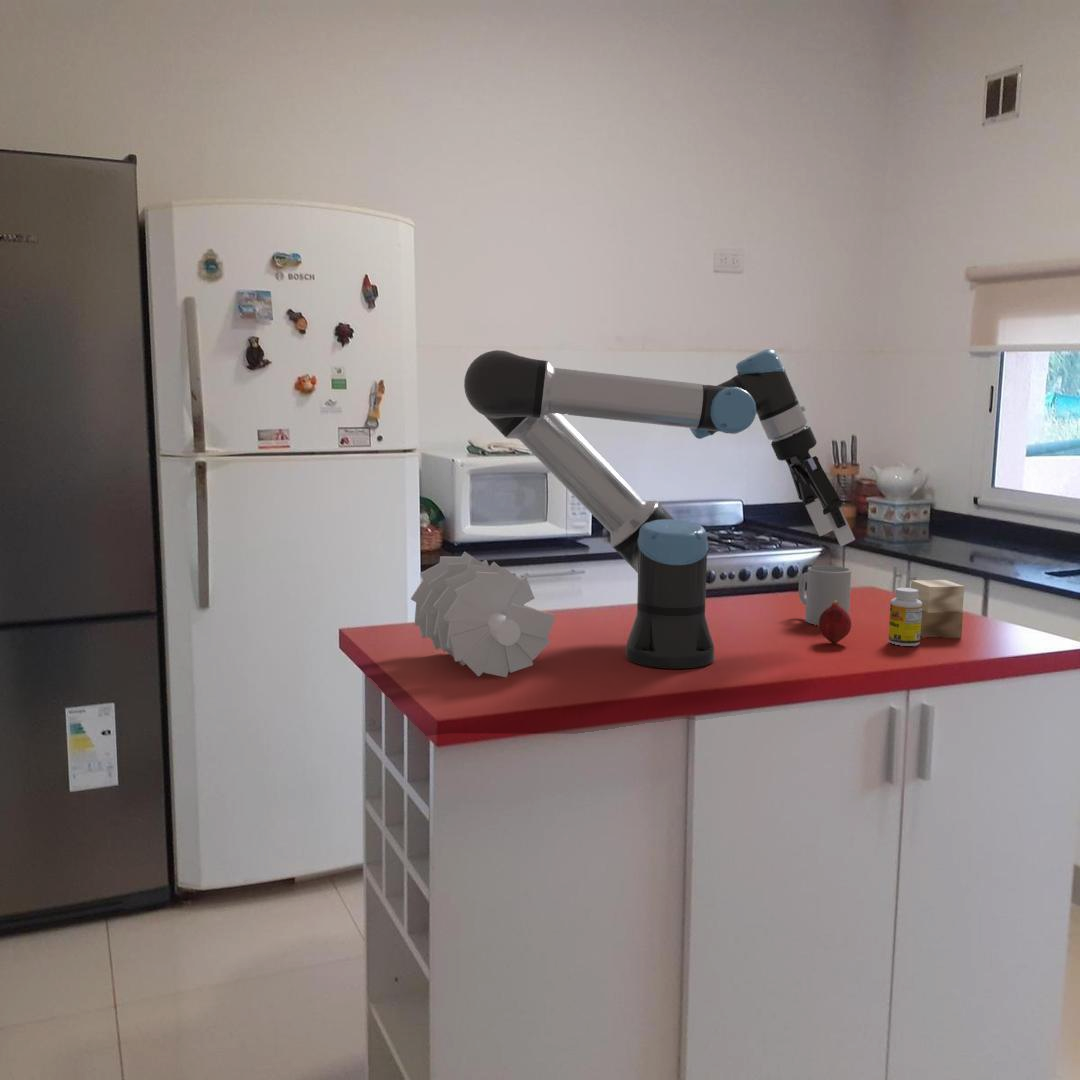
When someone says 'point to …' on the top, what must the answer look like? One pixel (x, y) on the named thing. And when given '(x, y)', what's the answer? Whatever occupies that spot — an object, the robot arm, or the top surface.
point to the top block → (939, 595)
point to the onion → (834, 623)
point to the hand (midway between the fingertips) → (836, 538)
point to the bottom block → (941, 624)
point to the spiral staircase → (480, 615)
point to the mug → (824, 590)
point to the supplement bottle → (905, 618)
